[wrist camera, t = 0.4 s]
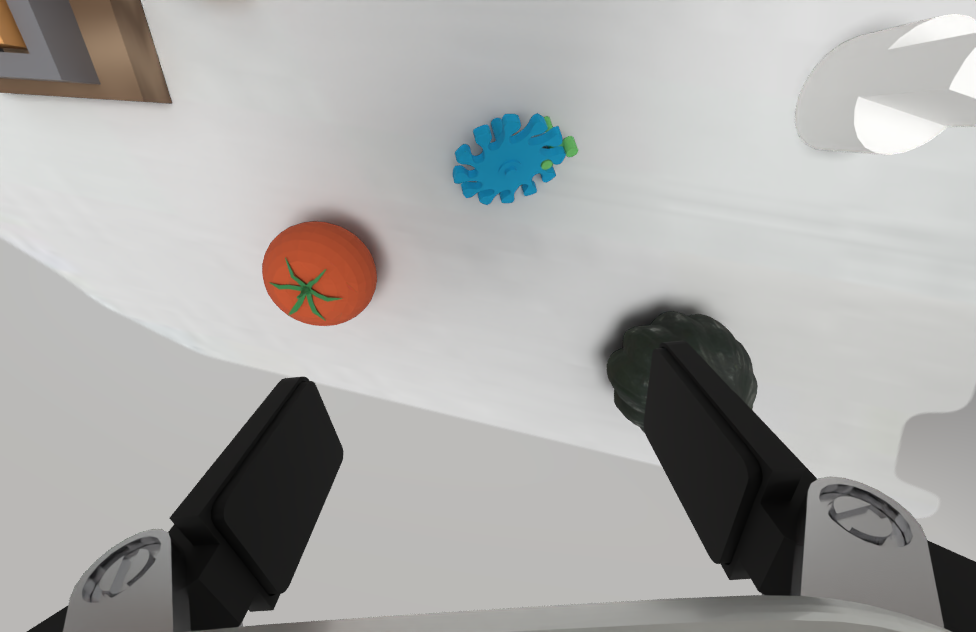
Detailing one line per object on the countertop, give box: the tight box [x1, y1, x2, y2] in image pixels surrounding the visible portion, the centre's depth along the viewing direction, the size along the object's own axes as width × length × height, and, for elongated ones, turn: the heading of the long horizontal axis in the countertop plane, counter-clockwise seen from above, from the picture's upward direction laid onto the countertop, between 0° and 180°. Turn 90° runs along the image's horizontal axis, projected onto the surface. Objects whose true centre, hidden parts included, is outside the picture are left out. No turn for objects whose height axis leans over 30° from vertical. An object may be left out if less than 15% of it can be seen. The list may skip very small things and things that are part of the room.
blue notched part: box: [453, 113, 578, 205], centre depth 32 cm, size 11×6×10 cm
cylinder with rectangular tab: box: [795, 14, 976, 155], centre depth 27 cm, size 9×9×12 cm
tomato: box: [262, 221, 377, 326], centre depth 35 cm, size 10×10×10 cm
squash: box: [607, 312, 757, 433], centre depth 40 cm, size 14×15×15 cm
